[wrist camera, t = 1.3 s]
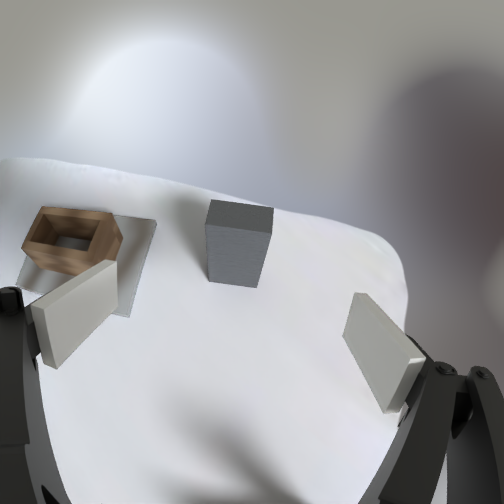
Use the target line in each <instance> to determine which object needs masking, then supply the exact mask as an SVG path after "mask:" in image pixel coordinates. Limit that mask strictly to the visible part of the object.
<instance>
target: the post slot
mask: <svg viewBox="0 0 504 504" xmlns="http://www.w3.org/2000/svg"><path fill="white" fill-rule="evenodd" d="M156 225H157V223H156V220H149V219H140V218H132V217H123V216H114V215H113V214H112V213H106V212H96V211H86V210H76V209H66V208H56V207H45V206H42V207H41V209H40V211H39V213H38V214H37V216H36V218H35V220H34V222H33V224H32V226H31V228H30V230H29V232H28V234H27V236H26V238H25V240H24V242H23V245H22V247H21V249H22V250H23V251H24V252H25V253H26V254H27V257H26V260H25V262H24V264H23V267H22V269H21V272H20V274H19V277H18V280H17V282H16V285H17V286H18V287H19V288H22V289H25V290H28V291H31V292H34V293H37V294H41V295H45V294H46V293H48V292H49V291H52V290H54V289H56V288H58V287H59V286H61V285H63V284H64V283H66V282H68V281H69V280H71V279H73V278H74V277H76V276H78V275H79V274H81V273H83V272H84V271H86V270H88V269H90V268H91V267H93V266H95V265H96V264H98V263H100V262H102V261H104V260H105V259H106V260H112V261H117V293H118V307H117V308H116V309H115V310H114V311H113V312H112V313H111V314H115V315H120V316H124V317H130V313H131V309H132V305H133V301H134V298H135V294H136V290H137V287H138V283H139V280H140V276H141V273H142V269H143V266H144V263H145V259H146V256H147V253H148V250H149V247H150V243H151V240H152V237H153V234H154V231H155V228H156Z"/></svg>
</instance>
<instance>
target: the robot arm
mask: <svg viewBox="0 0 504 504" xmlns="http://www.w3.org/2000/svg"><path fill="white" fill-rule="evenodd" d="M117 307H118V293H117V261H112V260H106V259H105V260H104V261H102V262H100V263H98V264H96V265H95V266H93V267H91V268H90V269H88V270H86V271H84V272H83V273H81V274H79V275H78V276H76V277H74V278H73V279H71V280H69V281H68V282H66V283H64V284H63V285H61V286H59V287H58V288H56V289H54V290H52V291H49V292H48V293H46V294H45V295H43V296H41V297H40V298H38V300H35V301H34V302H32V303H30V304H29V305H27V306H26V307H24V303H23V297H22V291H21V289H20V288H18V287H4V288H1V289H0V504H72V503H71V501H70V500H69V498H68V496H67V494H66V491H65V489H64V486H63V483H62V480H61V477H60V474H59V471H58V468H57V464H56V461H55V458H54V454H53V450H52V446H51V442H50V438H49V434H48V429H47V425H46V420H45V414H44V409H43V403H42V396H41V389H40V381H39V372H38V363H37V360H36V356H37V355H38V354H39V353H40V352H41V356H42V359H43V363H44V364H45V365H48V366H50V367H52V368H55V369H58V368H59V367H60V366H61V365H62V364H63V362H64V361H65V360H66V359H67V358H68V357H69V356H70V355H71V354H72V353H73V352H74V351H75V350H76V349H77V348H78V347H79V346H80V345H81V343H82V342H83V341H84V340H85V339H86V338H87V337H88V336H89V335H90V334H91V333H92V332H93V331H94V330H95V329H96V328H97V327H98V326H99V325H100V324H101V323H102V322H103V321H104V320H105V319H106V318H107V317H108V316H109V315H110V314H111V313H112V312H113V311H114V310H115V309H116V308H117ZM343 338H344V340H345V342H346V343H347V345H348V347H349V349H350V351H351V353H352V355H353V356H354V358H355V360H356V362H357V364H358V366H359V368H360V369H361V371H362V373H363V375H364V377H365V379H366V381H367V383H368V385H369V387H370V388H371V390H372V392H373V394H374V396H375V398H376V400H377V402H378V404H379V406H380V408H381V410H382V412H383V414H390V413H398V412H399V411H400V410H401V408H402V406H403V404H404V402H406V403H407V405H408V407H409V408H408V410H407V411H406V413H405V415H404V416H403V418H402V420H401V421H400V423H399V425H398V427H399V429H398V431H397V433H396V436H395V438H394V440H393V442H392V444H391V446H390V448H389V450H388V452H387V454H386V456H385V458H384V460H383V462H382V464H381V466H380V467H379V469H378V471H377V473H376V475H375V476H374V478H373V480H372V482H371V483H370V485H369V487H368V488H367V490H366V492H365V493H364V495H363V496H362V498H361V500H360V501H359V503H358V504H431V501H432V498H433V495H434V492H435V489H436V486H437V483H438V479H439V476H440V473H441V469H442V466H443V462H444V458H445V454H446V453H447V504H504V398H503V396H502V393H501V391H500V389H499V386H498V384H497V382H496V380H495V378H494V375H493V374H492V373H491V372H490V371H489V370H488V369H487V368H485V367H480V366H474V367H472V368H471V370H470V372H469V374H468V376H462V375H458V374H457V371H456V370H455V368H454V367H452V366H451V365H449V364H447V363H444V362H434V361H433V360H432V359H431V358H430V357H429V356H428V355H427V353H426V352H425V351H424V350H422V348H421V347H420V346H419V345H418V343H417V342H416V341H415V340H414V339H413V338H411V337H410V336H408V335H406V334H405V333H403V331H402V330H401V329H400V328H399V327H398V326H397V325H396V324H395V323H394V322H393V321H392V320H391V319H390V317H389V316H388V315H387V314H386V313H385V312H384V311H383V310H382V309H381V308H380V307H379V306H378V305H377V304H376V303H375V302H374V301H373V300H372V299H371V297H370V296H369V295H368V294H366V293H356V292H354V296H353V300H352V304H351V308H350V311H349V315H348V319H347V322H346V326H345V329H344V333H343Z"/></svg>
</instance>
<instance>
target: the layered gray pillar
mask: <svg viewBox="0 0 504 504" xmlns="http://www.w3.org/2000/svg"><path fill="white" fill-rule="evenodd" d="M273 212H274V208H271V207H265V206H258V205H250V204H243V203H236V202H228V201H220V200H212V199H211V202H210V206H209V210H208V215H207V219H206V223H205V231H206V247H207V261H208V274H209V282H216V283H223V284H231V285H238V286H246V287H253V288H257V285H258V281H259V278H260V274H261V271H262V267H263V264H264V260H265V257H266V253H267V249H268V246H269V242H270V239H271V235H272V226H273Z"/></svg>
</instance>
